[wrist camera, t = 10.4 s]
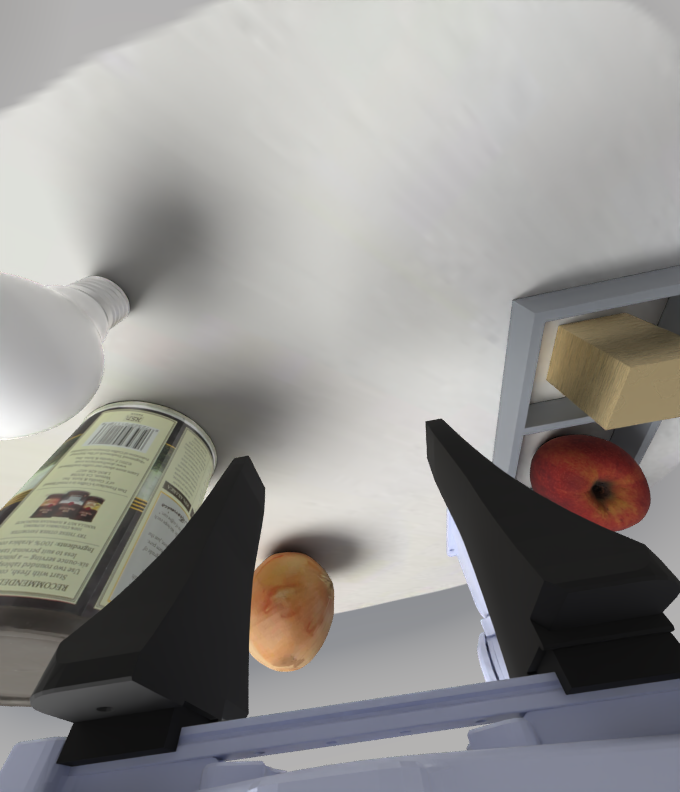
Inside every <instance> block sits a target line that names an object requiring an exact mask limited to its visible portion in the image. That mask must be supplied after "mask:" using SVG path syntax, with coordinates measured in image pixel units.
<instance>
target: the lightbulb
mask: <svg viewBox="0 0 680 792" xmlns="http://www.w3.org/2000/svg"><path fill="white" fill-rule="evenodd" d="M129 309H130V306H129V301H128V298H127V296H126V295H125V293H124V292H123V290H122V289H121V288H120V287H119V286H118V285H116V284H115V283H114V282H112V281H110V280H108V279H106V278H103V277H99V276H89V277H86V278H84V279H81V280H79V281H76V282H74V283H71V284H69V285H66V286H62V285H46V286H44V285H42V284H40V283H37V282H35V281H32V280H29V279H26V278H23V277H20V276H16V275H13V274H9V273H4V272H0V440H10V439H17V438H23V437H27V436H31V435H35V434H38V433H42V432H44V431H47V430H50V429H52V428H54V427H57V426H59V425H61V424H62V423H64V422H66V421H68V420H69V419H71V418H72V417H74V416H75V415H76V414H78V413H79V412H80V411H81V410H82V409H83V408H84V407H85V406H86V405H87V404H88V403H89V402H90V401H91V399H92V398H93V397H94V395H95V394H96V392H97V390H98V388H99V386H100V384H101V381H102V378H103V373H104V365H105V359H104V350H103V345H102V343H103V342H104V340H105V338H106V336H107V333H108V330H110V329H111V328H112V327H114V326H115V325H117V324H118V323H119V322H121V321H122V320H124V319H125V318H126V317H127V315H128V313H129Z"/></svg>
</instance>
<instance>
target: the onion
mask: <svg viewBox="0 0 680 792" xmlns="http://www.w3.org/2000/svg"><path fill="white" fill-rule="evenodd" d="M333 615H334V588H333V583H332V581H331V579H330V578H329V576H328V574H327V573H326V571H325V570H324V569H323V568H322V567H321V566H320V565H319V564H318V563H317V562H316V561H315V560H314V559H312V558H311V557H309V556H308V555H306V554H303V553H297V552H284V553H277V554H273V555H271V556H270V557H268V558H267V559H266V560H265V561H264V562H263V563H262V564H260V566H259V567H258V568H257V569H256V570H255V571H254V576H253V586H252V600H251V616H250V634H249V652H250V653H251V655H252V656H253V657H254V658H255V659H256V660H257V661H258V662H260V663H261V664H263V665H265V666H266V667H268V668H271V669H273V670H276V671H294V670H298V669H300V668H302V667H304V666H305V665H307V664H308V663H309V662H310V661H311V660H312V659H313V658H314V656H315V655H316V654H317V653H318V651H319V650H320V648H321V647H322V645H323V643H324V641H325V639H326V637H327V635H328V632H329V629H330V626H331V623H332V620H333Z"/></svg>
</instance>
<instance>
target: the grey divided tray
mask: <svg viewBox="0 0 680 792" xmlns="http://www.w3.org/2000/svg"><path fill="white" fill-rule="evenodd" d="M666 297H669V299H668V302H667V304H666V307H665V309H664V312H663V314H662V316H661V319H660V321H659V324H658V327H661V328H663V329H665V330H668V331H670V332H673V333H675V334H677V335H680V265H679V266H674V267H670V268H665V269H660V270H655V271H650V272H646V273H641V274H636V275H631V276H626V277H622V278H617V279H612V280H607V281H603V282H598V283H593V284H588V285H583V286H579V287H574V288H569V289H564V290H560V291H555V292H550V293H545V294H540V295H536V296H531V297H526V298H521V299H516V300H513V302H512V310H511V318H510V326H509V334H508V342H507V350H506V358H505V366H504V374H503V382H502V390H501V398H500V406H499V414H498V422H497V430H496V438H495V446H494V454H493V462H492V463H493V464H495V465H496V466H497V467H499V468H500V469H501V470H503V471H504V472H506V473H507V474H508V475H510V476H511V477H513V478H514V479H515V476H516V471H517V466H518V460H519V455H520V450H521V445H522V440H523V435H528V434H533V433H539V432H544V431H549V430H555V429H560V428H565V427H571V426H576V425H581V424H587V423H592V422H595V421H594V420H593V419H592V418H591V417H589V416H588V415H587V414H586V413H585V412H584V411H582V410H581V409H580V408H579V407H578V406H576V405H575V404H574V403H573V402H572V401H571V400H569V399H568V398H567V397H566V398H561V399H555V400H550V401H545V402H540V403H535V404H529V403H530V398H531V393H532V388H533V383H534V377H535V372H536V367H537V362H538V357H539V352H540V346H541V341H542V336H543V331H544V326H545V322H549V321H554V320H558V319H563V318H568V317H573V316H578V315H583V314H588V313H593V312H598V311H602V310H607V309H612V308H617V307H622V306H627V305H632V304H637V303H642V302H646V301H651V300H656V299H661V298H666ZM661 421H662V420H659V421H654V422H648V423H643V424H637V425H632V426H626V427H621V428H615V430H614V433H613V435H612V438H611V440H610V442H612V443H614V444H616V445H617V446H619V447H620V448H622V449H623V450H625V451H626V452H627V453H628V454H629V455H630V456H631V457H632V458H633V459H634V460H635V461H636V462H637V464H638V465H639V464H640V462H641V460H642V458H643V456H644V454H645V452H646V450H647V448H648V447H649V445H650V443H651V441H652V439H653V437H654V435H655V433H656V431H657V429H658V427H659V425H660V423H661ZM530 489H532V490H533V488H530ZM533 491H534V490H533Z"/></svg>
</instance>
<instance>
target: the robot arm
mask: <svg viewBox="0 0 680 792" xmlns="http://www.w3.org/2000/svg"><path fill="white" fill-rule="evenodd" d="M426 443H427V459H428V462H429V465H430V468H431V471H432V474H433V477H434V480H435V482H436V484H437V486H438V488H439V491H440V493H441V495H442V497H443V499H444V501H445V503H446V505H447V507H448V508H447V555H448V556H450V557H452V556H457V558H458V560H459V563H460V565H461V568H462V571H463V573H464V576H465V578H466V581H467V584H468V586H469V589H470V591H471V594H472V597H473V599H474V602H475V604H476V607H477V609H478V611H479V612H480V614H481V615H482V616H483V617H484V619H481V620H480V621H481V624H482V626H483V629H484V632H482V633H481V634H480V635H479V642H478V646H477V650H478V657H479V662H480V665H481V669H482V672H483V675H484V678H485V681H486V682H484V683H477V684H471V685H464V686H457V687H451V688H444V689H437V690H430V691H423V692H417V693H411V694H403V695H397V696H390V697H384V698H376V699H370V700H363V701H356V702H350V703H343V704H336V705H329V706H323V707H316V708H309V709H302V710H296V711H290V712H283V713H276V714H269V715H262V716H256V717H249V718H246V717H247V715H248V713H249V711H248V710H249V709H248V676H249V672H248V671H249V670H248V669H249V668H248V667H249V634H250V616H251V600H252V586H253V576H254V568H255V562H256V557H257V551H258V545H259V540H260V534H261V528H262V522H263V516H264V505H265V487H264V485H263V483H262V481H261V479H260V477H259V475H258V473H257V471H256V469H255V467H254V465H253V463H252V461H251V459H250V457H249V456H244V457H239V458H234V459H233V461H232V462H231V463H230V465H229V466H228V468H227V469H226V471H225V472H224V474H223V475H222V476H221V478H220V479H219V481H218V482H217V484H216V485H215V487H214V488H213V490H212V491H211V492H210V494H209V495H208V497H207V498H206V499H205V501H204V502H203V504H202V505H201V506H200V507H199V509H198V510H197V511H196V513H195V514H194V515H193V516H192V518H191V519H190V520H189V522H188V523H187V524H186V525H185V527H184V528H183V529H182V530H181V532H180V533H179V534H178V535H177V536H176V537H175V539H174V540H173V541H172V542H171V543H170V544H169V545H168V546H167V547H166V549H165V550H164V551H163V552H162V553H161V554H160V555H159V556H158V557H157V558H156V559H155V560H154V561H153V562H152V563H151V564H150V565H149V566H148V567H147V568H146V569H145V570H144V571H143V572H142V573H141V574H140V575H139V576H138V577H137V578H136V579H135V580H134V581H133V582H132V583H131V584H130V585H129V586H127V587H126V588H125V589H124V590H123V591H122V592H121V593H120V594H119V595H117V596H116V597H115V598H114V599H113V600H112V601H111V602H110V603H108V604H107V605H106V606H105V607H104V608H103V609H101V610H100V611H99V612H98V613H97V614H95V615H94V616H93V617H92V618H90V619H89V620H88V621H87V622H86V623H84V624H83V625H82V626H81V627H79V628H78V629H77V630H76V631H74V632H73V633H72V634H71V635H69V636H68V637H67V638H66V639H64V640H63V641H62V642H61V643H60V644H59V646H58V648H57V650H56V651H55V653H54V655H53V657H52V659H51V660H50V662H49V664H48V666H47V668H46V669H45V671H44V673H43V675H42V677H41V679H40V680H39V682H38V684H37V686H36V688H35V689H34V691H33V693H32V695H31V697H30V704H31V707H33V708H34V709H35V710H37V711H39V712H42V713H45V714H48V715H51V716H54V717H57V718H60V719H63V720H67V721H70V722H73V723H74V724H73V726H72V728H71V730H70V733H69V735H68V737H50V738H43V739H37V740H30V741H23V742H18V743H17V744H16V745H14V747H13V748H12V751H11V752H10V754H9V756H8V758H7V760H6V762H5V764H4V765H3V767H2V769H1V771H0V792H680V643H679V642H678V641H677V640H676V638H675V637H674V636H673V634H672V633H671V632H672V631H674V626H673V625H672V623H671V622H670V621H669V619H668V618H667V617H666V616H665V615H664V613H663V611H664V610H665V609H666V608H667V607H668V606H669V605H670V604H671V603H672V602H673V600H674V599H675V598H676V597H677V596H678V594H679V593H680V581H679V580H678V579H677V578H676V576H675V575H674V574H673V573H672V572H671V571H670V570H669V569H668V568H667V566H665V564H664V563H663V562H662V561H661V560H660V559H659V558H658V557H657V556H656V555H655V554H654V553H653V552H652V551H651V550H650V549H649V548H648V547H647V546H646V545H645V544H642V543H640V542H638V541H635V540H633V539H630V538H628V537H626V536H623V535H621V534H618V533H616V532H614V531H612V530H609V529H607V528H604V527H602V526H600V525H598V524H596V523H594V522H592V521H589V520H587V519H585V518H583V517H581V516H579V515H577V514H575V513H573V512H571V511H569V510H567V509H565V508H563V507H562V506H560V505H558V504H556V503H554V502H552V501H551V500H549V499H547V498H545V497H543V496H541V495H540V494H538V493H536V492H535V491H533V490H532V489H530V488H528V487H527V486H525V485H524V484H522V483H520V482H519V481H517V480H516V479H514V478H513V477H511V476H510V475H508V474H507V473H506V472H504V471H503V470H501V469H500V468H499V467H497V466H496V465H495V464H493V463H492V462H491V461H489V460H488V459H487V458H486V457H484V456H483V455H482V454H481V453H479V452H478V451H477V450H476V449H475V448H473V447H472V446H471V445H470V444H469V443H468V442H466V441H465V440H464V439H463V438H462V437H461V436H460V435H459V434H458V433H456V432H455V431H454V430H453V429H452V428H451V427H450V426H449V425H448V424H447V423H446V422H445V421H444V420H442V419H436V420H431V421H426ZM490 723H493V724H490ZM482 724H490V725H486V726H483V727H479V728H476V729H472V730H469V732H468V739H469V742H470V744H468V746H467V751H455V752H443V753H431V754H418V755H407V756H396V757H387V758H378V759H369V760H360V761H354V762H346V763H339V764H332V765H326V766H320V767H314V768H307V769H301V770H296V771H291V772H287V771H285V770H279V769H273V768H271V767H268V766H265V764H264V763H263V762H262V761H240V762H225V761H230V760H237V759H243V758H251V757H258V756H264V755H272V754H278V753H285V752H293V751H300V750H307V749H314V748H321V747H328V746H335V745H342V744H349V743H357V742H363V741H371V740H378V739H384V738H392V737H398V736H405V735H413V734H420V733H427V732H433V731H441V730H448V729H454V728H461V727H469V726H476V725H482Z"/></svg>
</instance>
